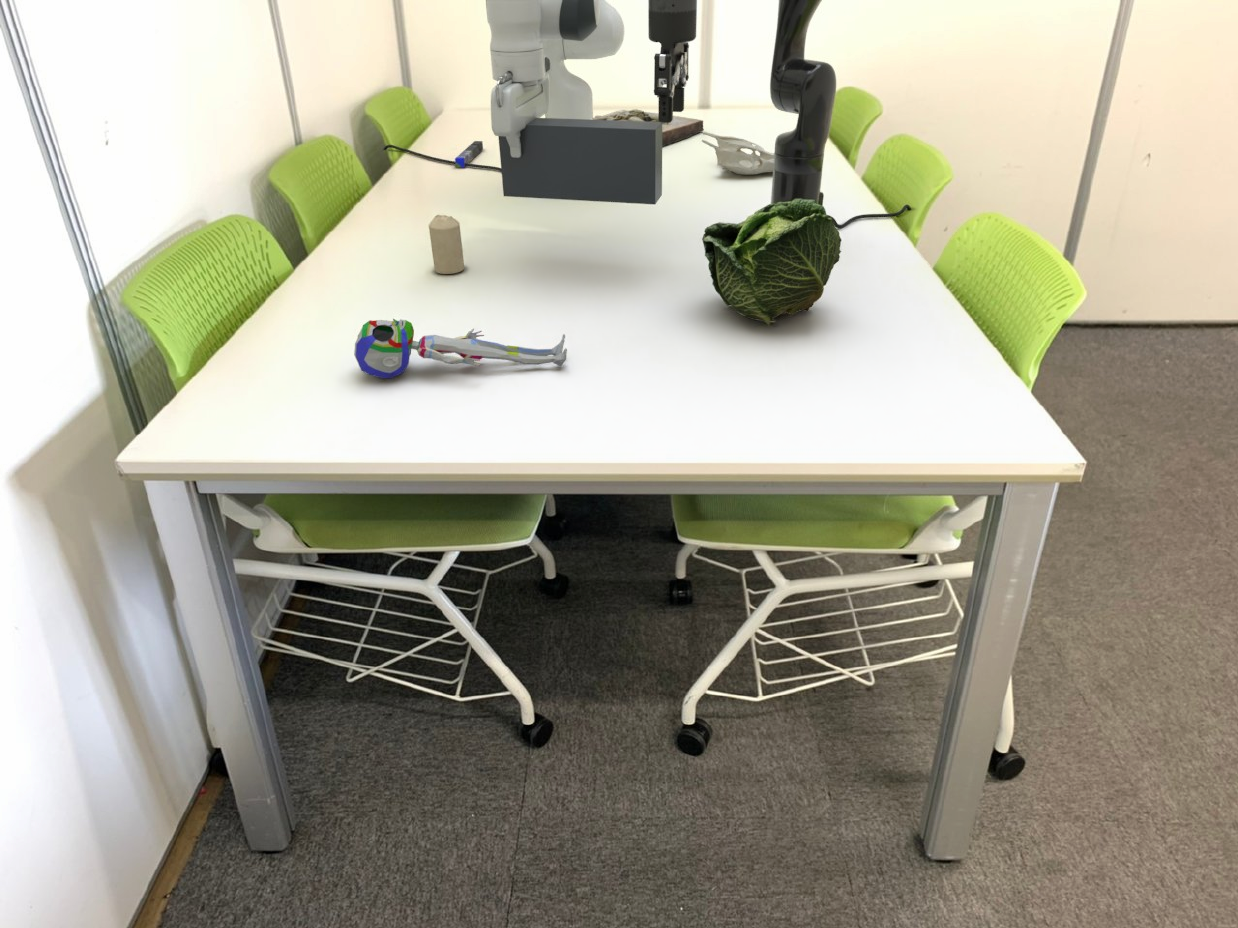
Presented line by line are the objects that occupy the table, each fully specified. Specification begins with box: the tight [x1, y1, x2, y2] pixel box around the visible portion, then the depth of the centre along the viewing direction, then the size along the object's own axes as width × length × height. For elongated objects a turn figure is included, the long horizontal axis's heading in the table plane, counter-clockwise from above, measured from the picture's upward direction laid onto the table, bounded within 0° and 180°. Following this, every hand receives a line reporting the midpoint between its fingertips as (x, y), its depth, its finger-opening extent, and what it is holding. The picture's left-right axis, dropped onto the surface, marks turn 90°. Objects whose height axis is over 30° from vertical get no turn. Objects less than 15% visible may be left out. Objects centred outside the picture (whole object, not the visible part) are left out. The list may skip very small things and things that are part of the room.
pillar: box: [454, 140, 484, 169], centre depth 238 cm, size 2×2×20 cm
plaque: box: [593, 108, 705, 147], centre depth 257 cm, size 30×7×30 cm
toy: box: [353, 318, 568, 379], centre depth 130 cm, size 10×8×30 cm
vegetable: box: [701, 198, 843, 326], centre depth 143 cm, size 20×19×20 cm
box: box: [497, 117, 663, 205], centre depth 157 cm, size 28×6×12 cm, turn 76°
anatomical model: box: [701, 131, 774, 176], centre depth 221 cm, size 15×9×25 cm
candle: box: [428, 214, 465, 275], centre depth 165 cm, size 6×6×10 cm
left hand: (523, 151), depth 159 cm, fingers closed on box, 6 cm apart
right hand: (671, 116), depth 148 cm, fingers open, 8 cm apart
